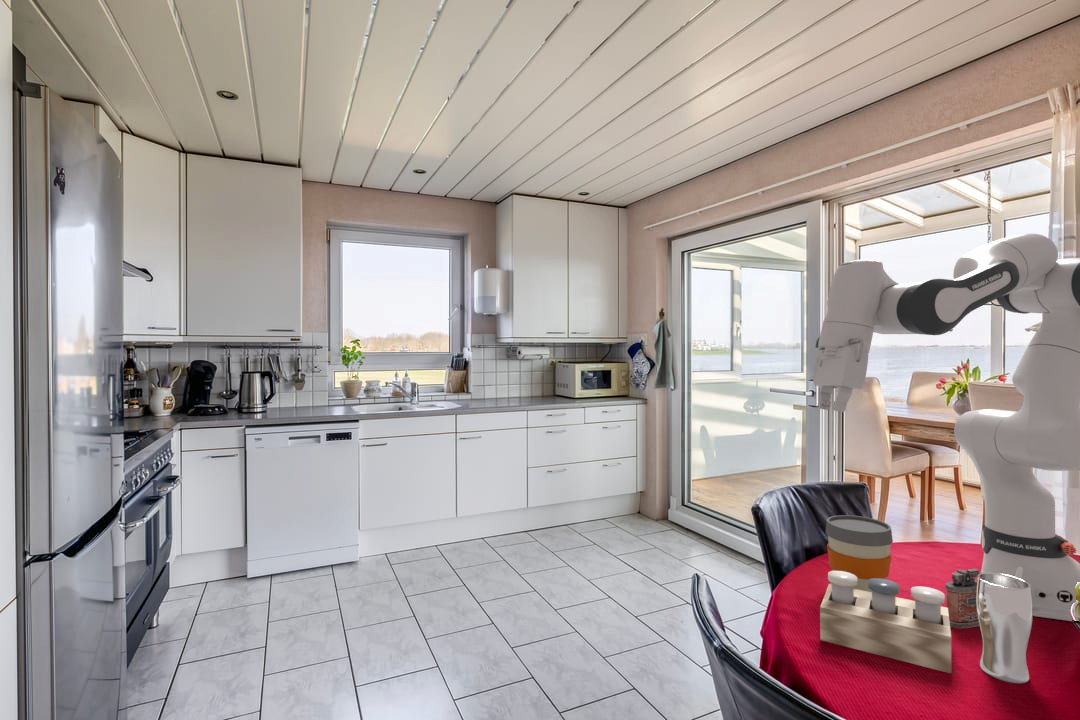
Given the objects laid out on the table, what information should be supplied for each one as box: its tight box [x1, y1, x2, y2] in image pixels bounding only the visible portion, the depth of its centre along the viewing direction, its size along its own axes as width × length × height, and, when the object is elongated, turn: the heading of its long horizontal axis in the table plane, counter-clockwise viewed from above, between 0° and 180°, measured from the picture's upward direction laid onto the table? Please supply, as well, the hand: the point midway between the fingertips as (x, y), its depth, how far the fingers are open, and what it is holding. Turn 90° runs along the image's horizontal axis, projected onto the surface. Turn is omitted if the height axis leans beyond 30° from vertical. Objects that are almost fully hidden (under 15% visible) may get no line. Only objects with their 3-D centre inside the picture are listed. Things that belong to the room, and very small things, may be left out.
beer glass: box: [976, 572, 1034, 684], centre depth 88 cm, size 7×7×15 cm
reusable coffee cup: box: [825, 514, 894, 592], centre depth 118 cm, size 13×13×15 cm
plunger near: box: [910, 585, 946, 625], centre depth 95 cm, size 5×5×7 cm
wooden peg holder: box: [819, 583, 952, 674], centre depth 99 cm, size 19×12×6 cm, turn 55°
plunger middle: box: [868, 578, 900, 615], centre depth 98 cm, size 5×5×7 cm
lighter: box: [944, 568, 981, 629], centre depth 104 cm, size 8×3×10 cm, turn 105°
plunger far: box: [827, 570, 857, 606], centre depth 102 cm, size 5×5×7 cm
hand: (830, 410), depth 107 cm, fingers open, 8 cm apart
